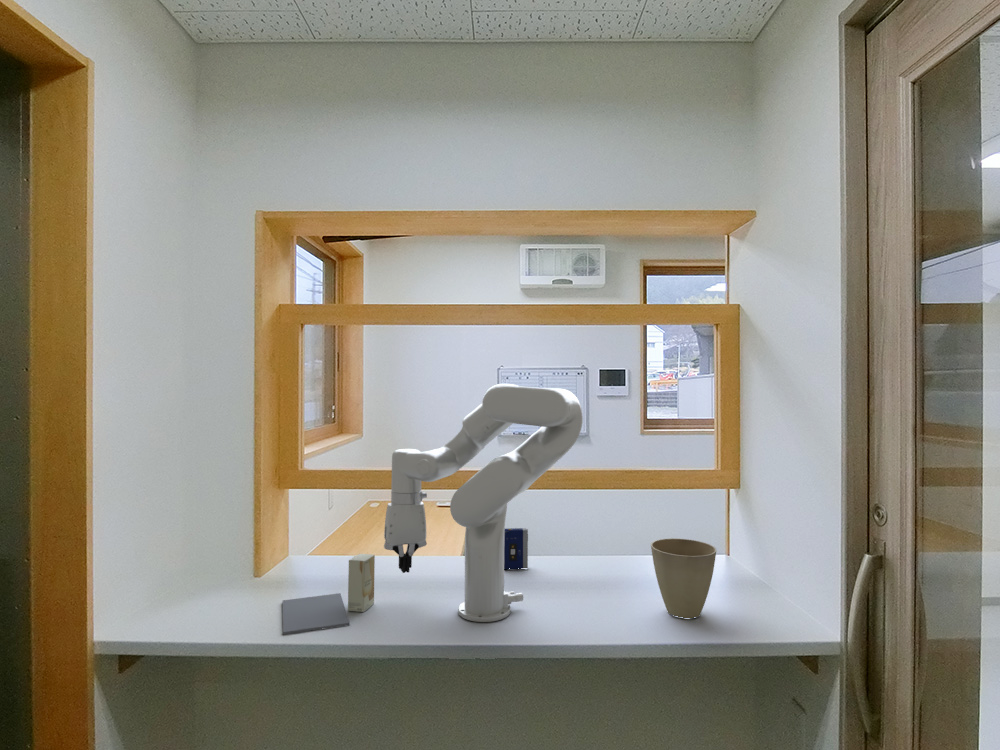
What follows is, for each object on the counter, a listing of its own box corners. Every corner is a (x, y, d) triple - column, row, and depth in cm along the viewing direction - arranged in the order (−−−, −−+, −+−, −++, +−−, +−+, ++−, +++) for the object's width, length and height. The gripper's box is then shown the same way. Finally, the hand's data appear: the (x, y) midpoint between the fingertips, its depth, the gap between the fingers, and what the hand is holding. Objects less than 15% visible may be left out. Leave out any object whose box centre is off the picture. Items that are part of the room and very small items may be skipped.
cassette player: (503, 570, 167) (503, 529, 168) (502, 567, 170) (502, 527, 170) (528, 569, 168) (528, 529, 168) (527, 567, 170) (527, 527, 171)
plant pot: (638, 606, 139) (638, 541, 140) (688, 599, 144) (687, 536, 145) (678, 630, 125) (677, 558, 126) (731, 621, 130) (730, 551, 131)
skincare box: (363, 613, 135) (364, 561, 135) (347, 611, 136) (347, 560, 136) (375, 603, 141) (375, 553, 142) (359, 601, 142) (359, 552, 143)
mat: (340, 595, 146) (340, 593, 147) (349, 625, 128) (349, 622, 128) (282, 602, 141) (282, 600, 141) (283, 635, 123) (283, 632, 123)
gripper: (431, 493, 150) (430, 563, 149) (374, 497, 144) (372, 569, 144) (438, 499, 143) (437, 572, 142) (378, 502, 137) (377, 579, 137)
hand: (404, 570), depth 143 cm, fingers closed
